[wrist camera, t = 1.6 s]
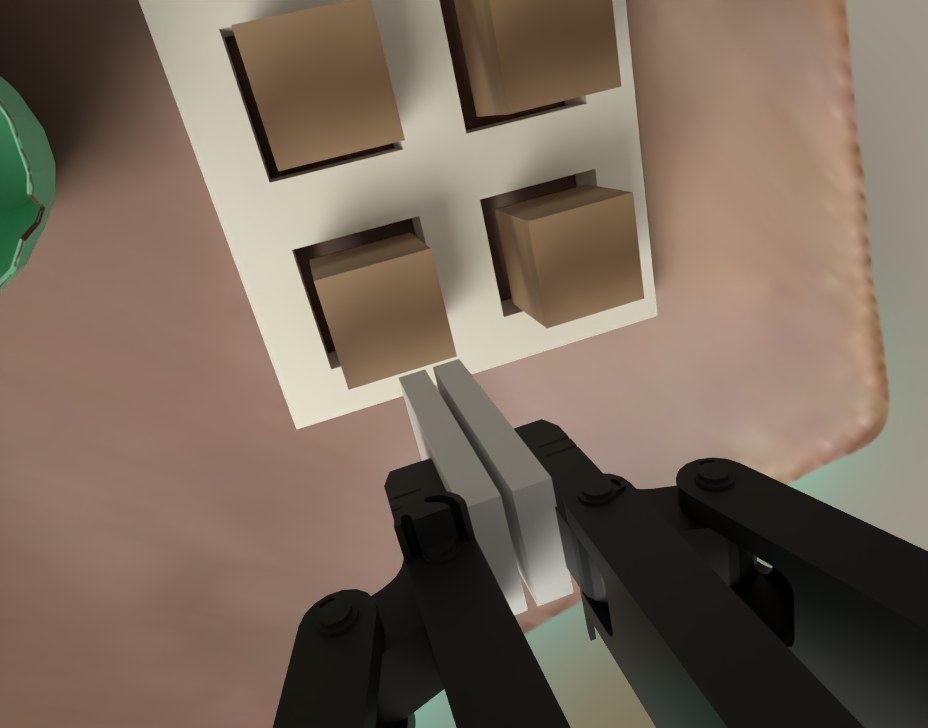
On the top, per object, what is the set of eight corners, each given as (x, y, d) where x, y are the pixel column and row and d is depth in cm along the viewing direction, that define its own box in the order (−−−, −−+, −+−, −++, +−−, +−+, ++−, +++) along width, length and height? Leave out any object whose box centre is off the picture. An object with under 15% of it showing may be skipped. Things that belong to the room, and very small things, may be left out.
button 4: (453, -4, 27) (484, -28, 23) (558, -26, 27) (606, -53, 23) (476, 116, 28) (509, 114, 24) (574, 92, 29) (621, 86, 25)
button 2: (239, 42, 25) (231, 25, 21) (356, 17, 26) (370, -4, 22) (278, 165, 27) (278, 171, 23) (387, 138, 28) (405, 139, 24)
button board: (140, -17, 26) (126, -32, 24) (587, -103, 29) (613, -123, 27) (295, 409, 34) (296, 429, 31) (634, 304, 37) (657, 315, 35)
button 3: (494, 209, 30) (528, 221, 26) (586, 184, 31) (632, 192, 27) (513, 303, 32) (546, 328, 28) (599, 277, 33) (644, 298, 29)
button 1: (309, 259, 29) (313, 281, 25) (410, 232, 29) (431, 248, 25) (339, 355, 31) (348, 389, 26) (434, 326, 31) (457, 356, 27)
